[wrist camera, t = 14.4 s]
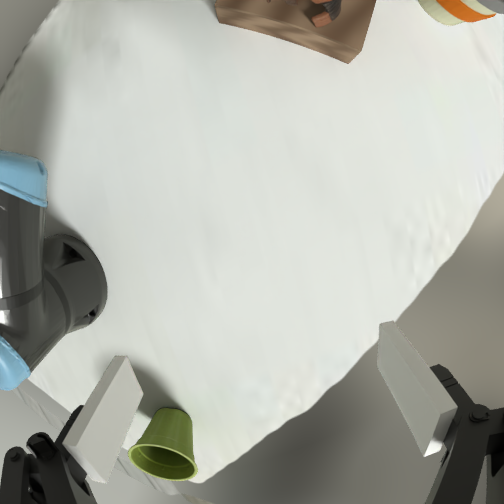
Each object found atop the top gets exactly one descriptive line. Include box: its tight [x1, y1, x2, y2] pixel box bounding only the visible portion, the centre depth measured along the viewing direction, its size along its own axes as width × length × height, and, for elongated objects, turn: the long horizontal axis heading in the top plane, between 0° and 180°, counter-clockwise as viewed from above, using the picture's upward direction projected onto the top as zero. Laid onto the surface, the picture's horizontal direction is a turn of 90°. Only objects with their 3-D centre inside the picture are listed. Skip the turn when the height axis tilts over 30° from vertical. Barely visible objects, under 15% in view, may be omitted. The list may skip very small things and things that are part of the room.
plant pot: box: [128, 408, 198, 481], centre depth 45 cm, size 12×12×11 cm
